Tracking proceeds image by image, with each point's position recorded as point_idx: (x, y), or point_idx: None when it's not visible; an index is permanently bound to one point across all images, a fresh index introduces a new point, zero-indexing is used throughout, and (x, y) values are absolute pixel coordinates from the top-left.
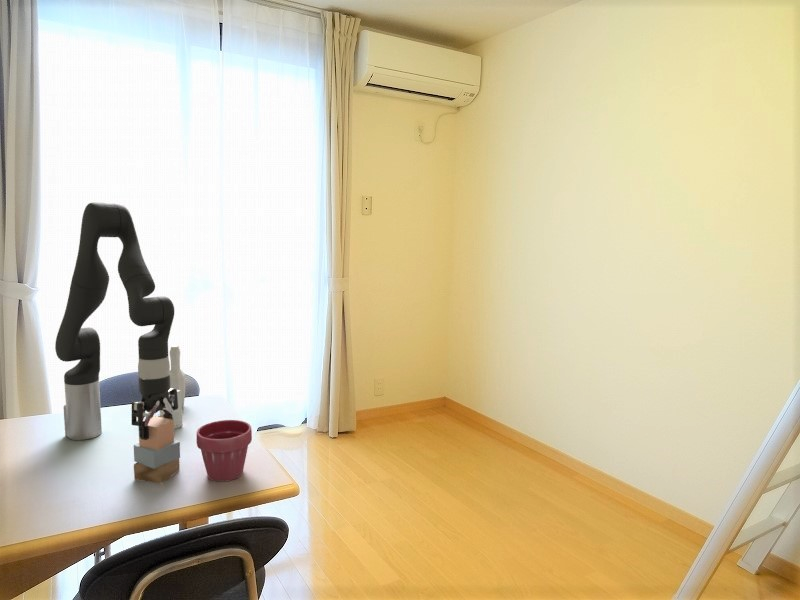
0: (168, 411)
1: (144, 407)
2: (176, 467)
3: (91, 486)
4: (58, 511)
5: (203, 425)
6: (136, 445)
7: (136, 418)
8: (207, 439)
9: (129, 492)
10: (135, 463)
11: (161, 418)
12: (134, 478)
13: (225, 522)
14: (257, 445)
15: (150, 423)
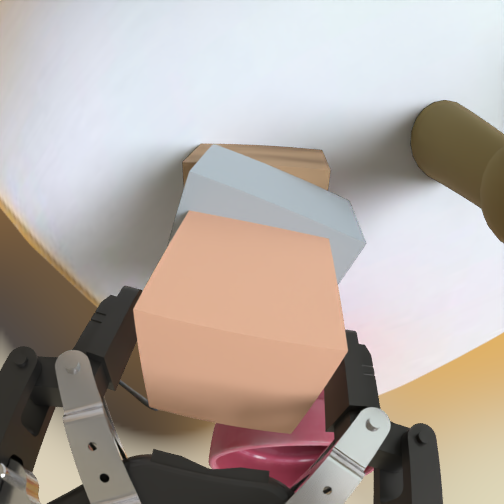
0: (319, 457)
1: (77, 491)
2: None
3: (119, 38)
4: (6, 84)
5: (327, 445)
6: (189, 191)
7: (27, 397)
8: (209, 459)
9: (124, 182)
10: (193, 163)
11: (301, 394)
12: (199, 145)
13: (127, 385)
14: (454, 358)
15: (182, 373)
